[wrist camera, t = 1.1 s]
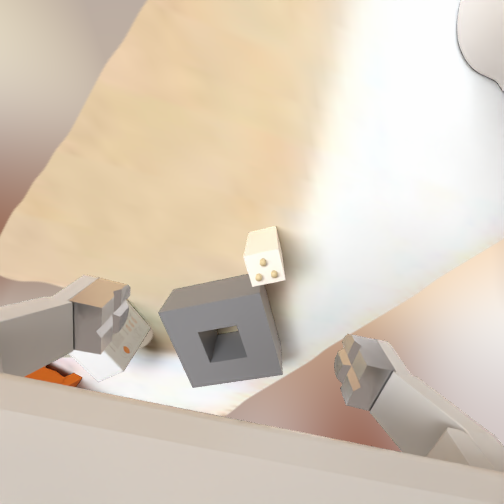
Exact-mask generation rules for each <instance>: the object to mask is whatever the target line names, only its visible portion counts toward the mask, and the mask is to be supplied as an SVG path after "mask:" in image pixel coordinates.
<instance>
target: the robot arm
mask: <svg viewBox="0 0 504 504" xmlns="http://www.w3.org/2000/svg"><path fill="white" fill-rule="evenodd" d="M457 34H458V41H459V45H460V49H461V51H462V54H463V56H464V58H465V59H466V61H467V62H468V63H469V65H470V66H471V67H472V68H473V69H474V70H476V71H477V72H479V73H480V74H482V75H484V76H487V77H489V78H491V79H493V80H495V81H496V82H497V83H498V84H499V86H500V87H501V89H502V90H503V91H504V0H461V2H460V6H459V11H458V19H457ZM129 296H130V286H129V285H128V284H123V283H119V282H115V281H111V280H107V279H103V278H99V277H94V276H90V275H83V276H81V277H80V278H78V279H77V280H75V281H74V282H73V283H71V284H70V285H68V286H67V287H65V288H64V289H62V290H61V291H59V292H58V293H56V294H55V295H53V296H52V297H47V296H45V297H40V298H36V299H32V300H27V301H23V302H19V303H15V304H10V305H6V306H2V307H0V504H504V446H503V445H502V443H501V442H500V441H499V440H498V439H497V437H496V436H495V435H493V434H492V433H491V432H489V431H488V430H487V429H485V428H484V427H483V426H481V425H480V424H478V423H477V422H476V421H475V420H473V419H472V418H471V417H469V416H468V415H467V414H465V413H464V412H463V411H461V410H460V409H459V408H458V407H456V406H455V405H453V404H452V403H451V402H450V401H448V400H447V399H446V398H444V397H443V396H441V395H440V394H439V393H438V392H436V391H435V390H434V389H432V388H431V387H430V386H428V385H427V384H426V383H424V382H423V381H422V380H420V379H419V378H418V377H416V376H412V374H411V373H410V372H409V370H408V369H407V367H406V366H405V364H404V363H403V362H402V360H401V359H400V357H399V356H398V354H397V353H396V351H395V350H394V348H393V347H392V345H391V344H390V343H388V342H387V341H381V340H376V339H370V338H365V337H361V336H356V335H351V334H347V335H346V336H345V337H344V340H343V342H342V343H343V346H344V348H343V349H341V350H340V351H338V353H337V356H336V358H335V363H334V368H335V374H336V377H337V379H338V380H339V381H340V382H341V383H342V386H341V388H340V389H341V392H342V395H343V397H344V401H345V403H346V405H347V406H351V407H356V408H359V409H363V410H368V411H370V413H371V414H372V416H373V417H374V418H375V419H376V421H377V422H378V423H379V424H380V425H381V427H382V428H383V429H384V430H385V432H386V433H387V434H388V435H389V436H390V438H391V439H392V440H393V441H394V443H395V444H396V445H397V446H398V447H399V448H400V450H401V451H402V452H398V451H393V450H388V449H383V448H378V447H373V446H368V445H363V444H358V443H353V442H348V441H343V440H337V439H333V438H328V437H322V436H318V435H313V434H308V433H303V432H298V431H293V430H288V429H283V428H278V427H273V426H268V425H263V424H258V423H253V422H248V421H243V420H238V419H233V418H227V417H223V416H218V415H213V414H208V413H203V412H197V411H192V410H187V409H182V408H177V407H172V406H167V405H162V404H157V403H152V402H147V401H142V400H137V399H132V398H127V397H122V396H117V395H112V394H107V393H102V392H97V391H92V390H87V389H82V388H77V387H72V386H67V385H62V384H57V383H51V382H46V381H41V380H36V379H31V378H26V377H25V376H27V375H29V374H31V373H33V372H34V371H36V370H38V369H40V368H42V367H44V366H46V365H48V364H50V363H52V362H54V361H56V360H58V359H59V358H61V357H63V356H65V355H67V354H69V353H71V352H73V350H77V351H83V352H89V353H94V354H100V355H101V354H102V352H103V351H104V350H105V349H106V347H107V346H108V345H109V344H110V342H111V341H112V334H115V333H117V332H119V331H120V330H121V329H122V327H123V326H124V324H125V322H126V320H127V317H128V313H129V305H128V303H127V302H126V299H127V298H128V297H129Z"/></svg>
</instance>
